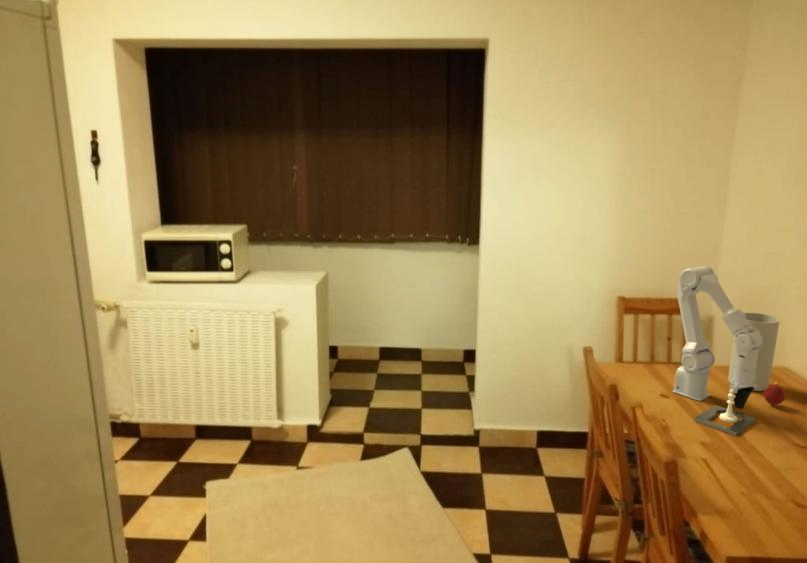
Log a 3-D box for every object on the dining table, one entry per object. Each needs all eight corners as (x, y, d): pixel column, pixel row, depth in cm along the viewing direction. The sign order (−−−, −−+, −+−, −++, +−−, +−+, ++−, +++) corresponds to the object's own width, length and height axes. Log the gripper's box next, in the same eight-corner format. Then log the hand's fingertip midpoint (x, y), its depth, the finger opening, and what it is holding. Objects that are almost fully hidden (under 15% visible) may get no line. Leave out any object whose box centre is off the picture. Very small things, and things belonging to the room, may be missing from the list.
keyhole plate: (714, 407, 181) (715, 404, 181) (755, 421, 172) (756, 418, 172) (694, 420, 173) (694, 417, 172) (735, 435, 163) (736, 432, 163)
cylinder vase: (763, 380, 203) (773, 314, 198) (772, 394, 192) (784, 324, 186) (724, 375, 207) (733, 311, 202) (731, 389, 196) (741, 320, 190)
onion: (786, 410, 180) (790, 387, 178) (766, 408, 181) (770, 385, 179) (778, 402, 185) (782, 380, 184) (759, 400, 187) (763, 378, 185)
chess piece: (715, 415, 176) (719, 386, 174) (730, 414, 177) (734, 385, 174) (725, 422, 171) (730, 392, 169) (741, 422, 172) (745, 392, 170)
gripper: (749, 377, 168) (743, 418, 171) (768, 366, 176) (761, 405, 179) (724, 370, 173) (718, 410, 176) (743, 359, 182) (738, 398, 185)
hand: (739, 407), depth 178 cm, fingers closed
